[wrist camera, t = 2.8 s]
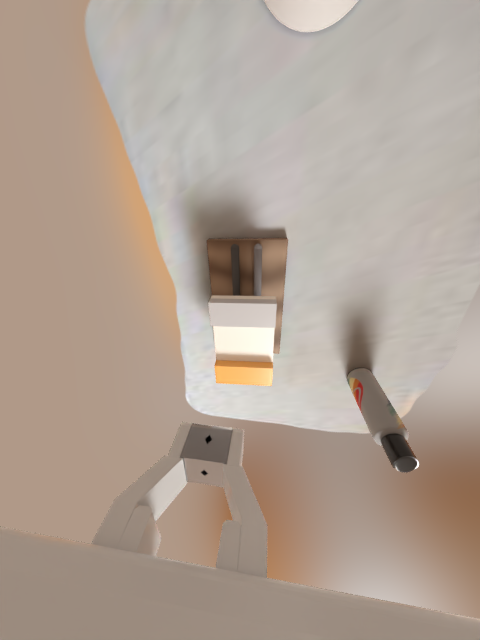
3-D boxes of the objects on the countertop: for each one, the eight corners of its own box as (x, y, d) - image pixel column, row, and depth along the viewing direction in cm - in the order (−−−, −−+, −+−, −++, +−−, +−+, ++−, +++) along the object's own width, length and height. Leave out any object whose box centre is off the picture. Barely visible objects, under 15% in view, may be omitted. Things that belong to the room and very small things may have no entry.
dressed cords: (231, 243, 39) (230, 244, 38) (262, 242, 38) (262, 244, 37) (234, 310, 45) (233, 313, 44) (260, 310, 44) (260, 313, 43)
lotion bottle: (342, 383, 53) (380, 473, 36) (351, 365, 51) (397, 453, 33) (366, 387, 53) (415, 479, 36) (376, 369, 51) (435, 460, 33)
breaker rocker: (211, 295, 35) (208, 302, 33) (275, 296, 34) (276, 303, 32) (219, 372, 43) (216, 383, 40) (271, 374, 42) (271, 385, 39)
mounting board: (208, 239, 40) (206, 240, 39) (287, 238, 39) (287, 239, 38) (218, 347, 52) (216, 351, 50) (278, 349, 50) (279, 353, 49)
